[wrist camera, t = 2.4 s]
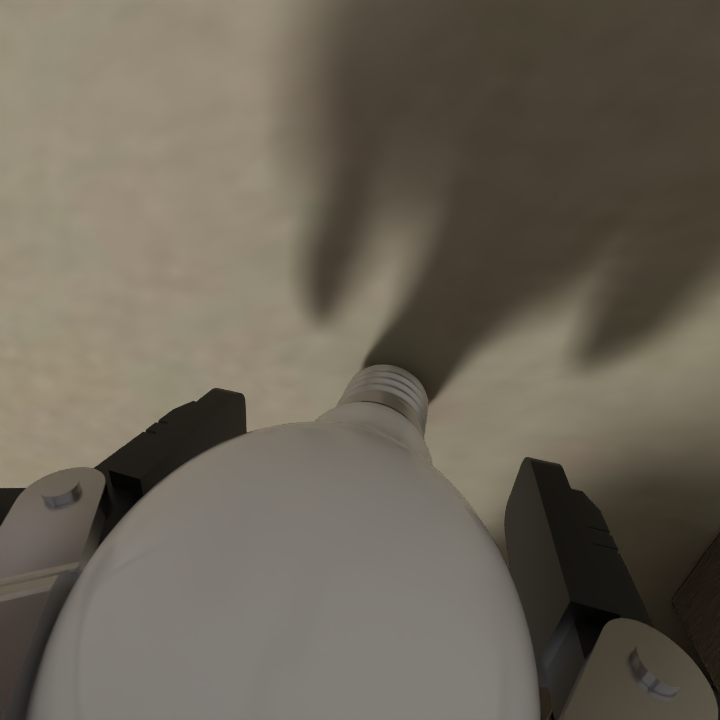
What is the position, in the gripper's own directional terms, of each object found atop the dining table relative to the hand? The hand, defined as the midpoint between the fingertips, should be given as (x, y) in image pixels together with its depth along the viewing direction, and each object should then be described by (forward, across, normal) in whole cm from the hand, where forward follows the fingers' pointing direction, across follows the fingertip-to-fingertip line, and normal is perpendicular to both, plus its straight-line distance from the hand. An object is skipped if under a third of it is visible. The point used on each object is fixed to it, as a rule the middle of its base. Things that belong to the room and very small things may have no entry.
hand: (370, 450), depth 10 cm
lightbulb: (+3, 0, 0) cm, 3 cm away
